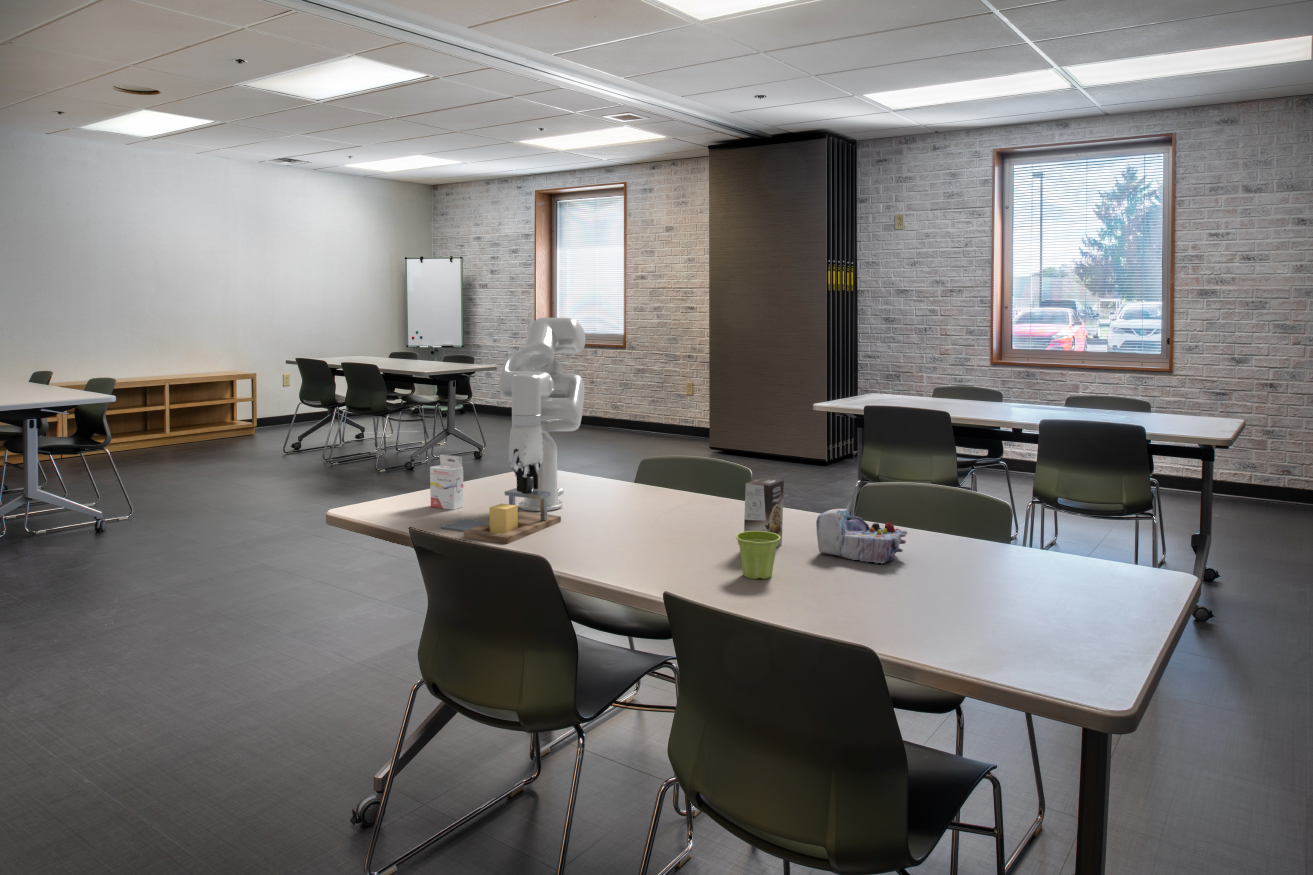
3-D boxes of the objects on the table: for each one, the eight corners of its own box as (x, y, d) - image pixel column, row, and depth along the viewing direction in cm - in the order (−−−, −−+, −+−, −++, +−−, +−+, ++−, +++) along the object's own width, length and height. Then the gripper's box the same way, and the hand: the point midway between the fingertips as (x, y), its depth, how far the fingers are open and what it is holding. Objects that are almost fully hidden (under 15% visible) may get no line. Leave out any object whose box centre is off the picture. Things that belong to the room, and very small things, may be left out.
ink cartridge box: (429, 507, 246) (428, 456, 244) (441, 503, 250) (439, 454, 248) (453, 510, 242) (452, 458, 240) (464, 506, 247) (463, 456, 245)
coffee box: (767, 552, 201) (769, 485, 199) (742, 548, 204) (744, 482, 202) (783, 544, 209) (785, 479, 206) (759, 540, 212) (760, 476, 210)
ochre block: (501, 530, 220) (501, 503, 219) (517, 532, 218) (517, 505, 217) (490, 534, 216) (489, 507, 215) (506, 536, 214) (506, 509, 213)
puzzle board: (520, 516, 235) (519, 511, 235) (560, 521, 230) (560, 516, 229) (463, 537, 213) (463, 531, 212) (507, 543, 207) (507, 537, 207)
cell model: (825, 501, 207) (910, 511, 199) (823, 544, 209) (907, 556, 201) (812, 511, 196) (902, 522, 188) (809, 557, 197) (898, 570, 189)
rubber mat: (464, 520, 231) (464, 518, 231) (495, 524, 226) (495, 522, 226) (440, 528, 222) (440, 526, 222) (472, 532, 217) (472, 531, 217)
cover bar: (515, 513, 231) (515, 473, 230) (550, 517, 227) (550, 476, 225) (505, 517, 227) (504, 476, 225) (540, 521, 222) (540, 480, 221)
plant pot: (762, 585, 177) (763, 544, 175) (726, 575, 183) (727, 536, 182) (787, 575, 184) (789, 535, 182) (751, 566, 190) (752, 528, 189)
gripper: (532, 417, 232) (532, 483, 235) (495, 424, 217) (497, 494, 220) (555, 418, 229) (556, 486, 232) (520, 425, 214) (521, 497, 217)
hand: (527, 489), depth 226 cm, fingers open, 4 cm apart
